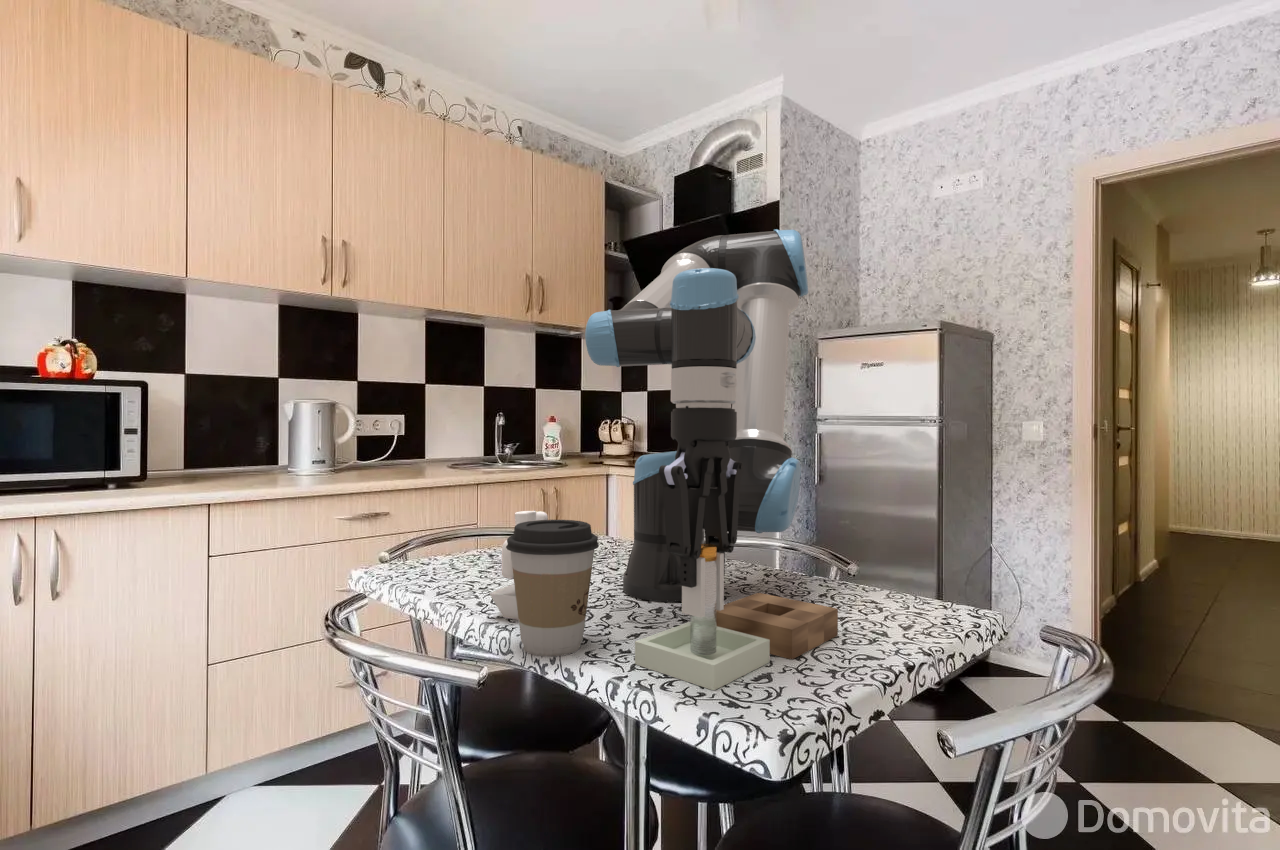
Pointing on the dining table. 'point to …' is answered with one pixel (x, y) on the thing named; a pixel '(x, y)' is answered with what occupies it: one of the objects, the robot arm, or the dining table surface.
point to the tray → (702, 656)
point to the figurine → (507, 595)
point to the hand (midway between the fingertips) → (702, 610)
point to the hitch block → (781, 622)
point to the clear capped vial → (706, 607)
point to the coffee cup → (552, 583)
